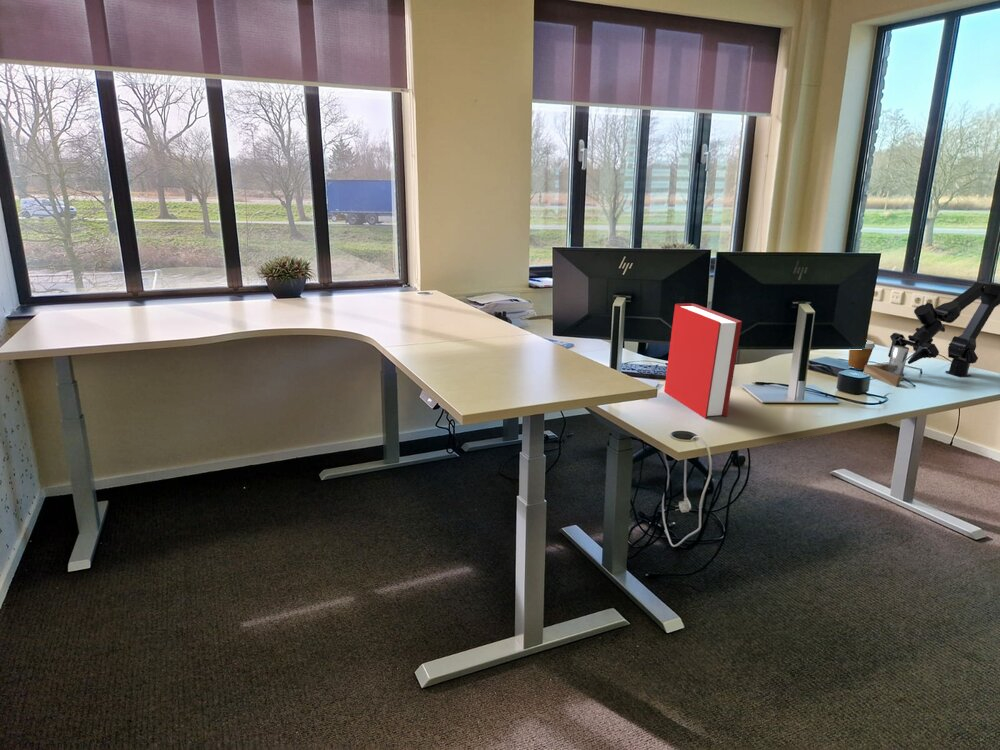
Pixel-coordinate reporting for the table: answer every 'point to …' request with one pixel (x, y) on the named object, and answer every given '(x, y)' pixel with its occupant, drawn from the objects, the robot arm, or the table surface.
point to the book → (702, 359)
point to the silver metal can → (898, 360)
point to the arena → (882, 374)
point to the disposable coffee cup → (861, 356)
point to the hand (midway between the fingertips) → (898, 359)
